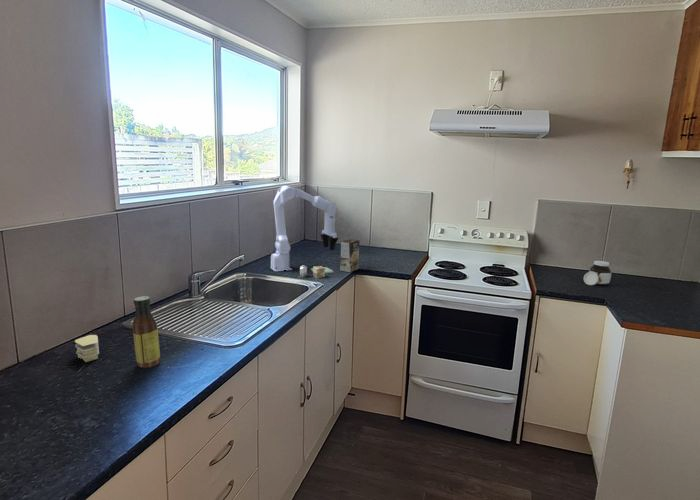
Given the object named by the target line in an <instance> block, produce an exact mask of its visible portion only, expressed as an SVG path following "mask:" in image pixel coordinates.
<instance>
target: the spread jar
mask: <svg viewBox="0 0 700 500" xmlns="http://www.w3.org/2000/svg"><path fill="white" fill-rule="evenodd" d="M611 278H612V270H611V268H610V262H609V261H605V260H594V261H593V264H592V265H591V266H590V267H589V271H588V272H586V273H585V274H584V275H583V282H584V284H585V285H588V286H594V285H595V286H600V287H603V286H605V287H606V286H607V285H609V284H610V281H611Z"/></svg>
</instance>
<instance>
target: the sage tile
mask: <svg viewBox="0 0 700 500" xmlns="http://www.w3.org/2000/svg"><path fill="white" fill-rule="evenodd" d="M324 268H325V274H332V273H334V272H335V271H334V270H333V269H331V268H329V267H327V266H324ZM310 271H312V272H313V267H312V268H310Z"/></svg>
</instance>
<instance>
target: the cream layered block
mask: <svg viewBox="0 0 700 500" xmlns="http://www.w3.org/2000/svg"><path fill="white" fill-rule="evenodd" d="M98 337H99V336H98V335H97V334H89V335H86V336H83V337H80V338H77V339H75V340H74V342H75V343H76V344H75V348H76V349H77V350H76V351H75V353H76V354H77V358H78V359H79V358H80V360H81V359H82V360H83V361H84V363H88V362H91V361H95V360H97V359H99V355H100V350H99V349H100V347H99V338H98Z"/></svg>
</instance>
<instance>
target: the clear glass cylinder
mask: <svg viewBox="0 0 700 500" xmlns="http://www.w3.org/2000/svg"><path fill="white" fill-rule="evenodd" d="M307 275H308V266H306V265H304V266H302V265H300V266H299V277H300V278H307V277H308V276H307Z"/></svg>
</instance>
